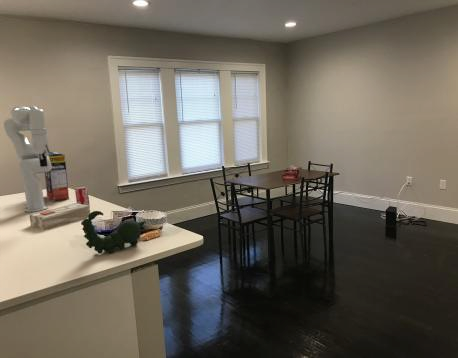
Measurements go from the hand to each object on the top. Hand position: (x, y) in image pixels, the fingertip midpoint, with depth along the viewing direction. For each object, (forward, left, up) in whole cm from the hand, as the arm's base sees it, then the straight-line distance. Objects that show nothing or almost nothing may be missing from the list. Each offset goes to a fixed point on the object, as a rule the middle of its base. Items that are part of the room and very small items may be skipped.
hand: (44, 166), depth 201 cm
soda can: (-1, +21, -29) cm, 36 cm away
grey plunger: (+12, +6, -27) cm, 30 cm away
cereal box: (-49, +32, -29) cm, 65 cm away
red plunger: (+12, -8, -26) cm, 30 cm away
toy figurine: (+77, -15, -29) cm, 84 cm away
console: (+12, -1, -29) cm, 31 cm away
